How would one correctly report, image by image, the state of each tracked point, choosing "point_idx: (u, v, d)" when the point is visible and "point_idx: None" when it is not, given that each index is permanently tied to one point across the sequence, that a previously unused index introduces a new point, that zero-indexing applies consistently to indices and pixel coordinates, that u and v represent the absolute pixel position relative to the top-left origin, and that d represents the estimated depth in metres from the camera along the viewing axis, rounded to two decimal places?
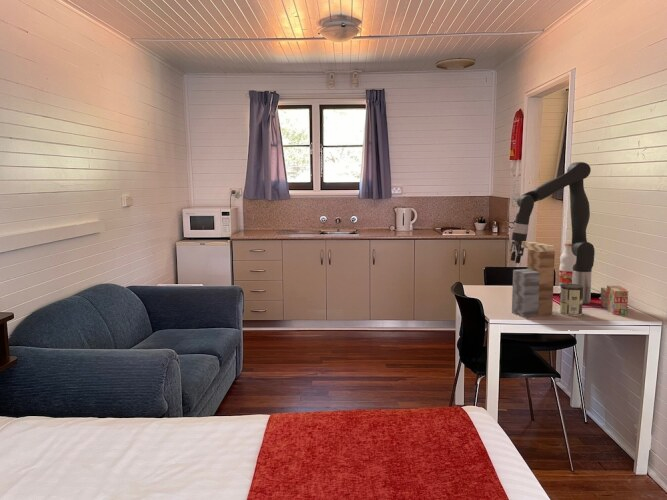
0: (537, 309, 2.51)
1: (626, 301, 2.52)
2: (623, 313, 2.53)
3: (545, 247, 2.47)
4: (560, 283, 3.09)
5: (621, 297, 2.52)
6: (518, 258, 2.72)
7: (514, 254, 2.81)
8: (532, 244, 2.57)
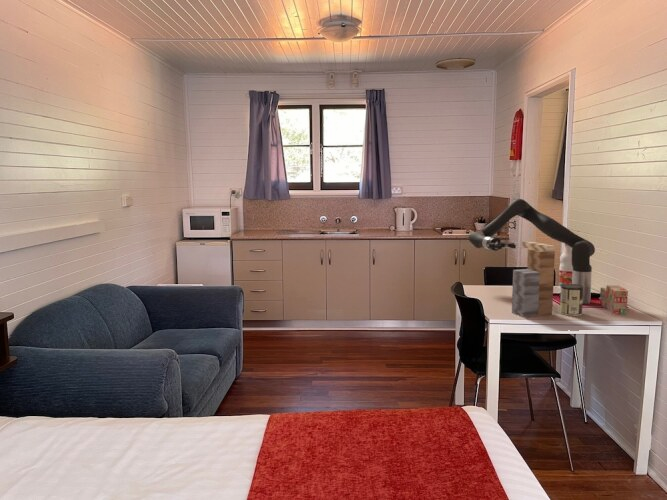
0: (537, 309, 2.51)
1: (626, 301, 2.52)
2: (623, 313, 2.53)
3: (545, 247, 2.47)
4: (560, 283, 3.09)
5: (621, 297, 2.52)
6: (496, 247, 2.82)
7: (510, 245, 2.85)
8: (532, 244, 2.57)
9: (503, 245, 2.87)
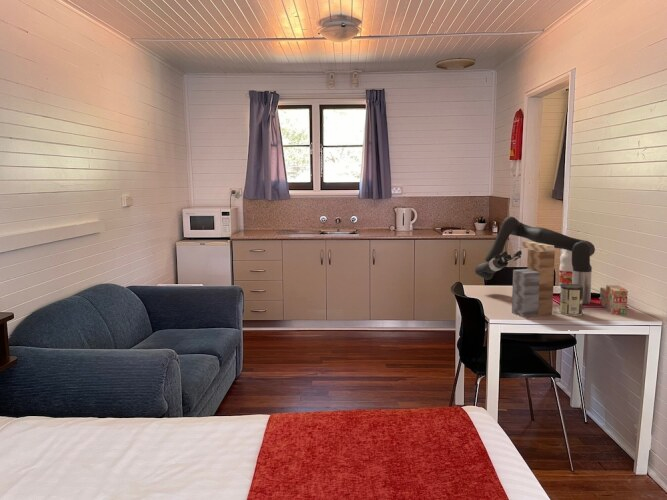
0: (537, 309, 2.51)
1: (625, 301, 2.52)
2: (622, 313, 2.53)
3: (545, 247, 2.47)
4: (560, 283, 3.09)
5: (621, 296, 2.52)
6: (502, 255, 2.77)
7: (516, 253, 2.80)
8: (532, 244, 2.57)
9: (509, 256, 2.82)
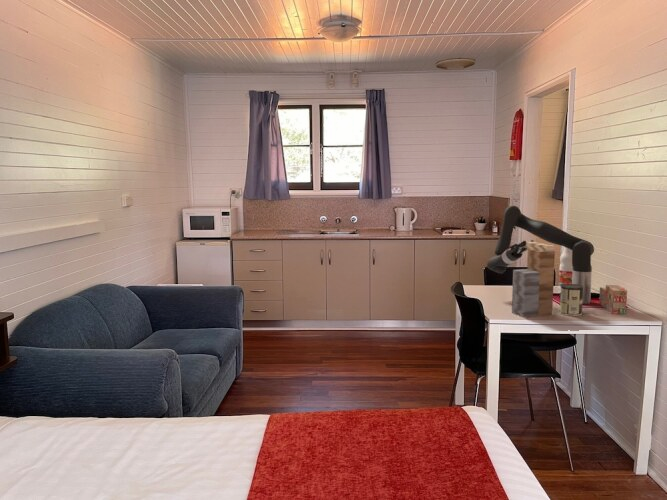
0: (537, 309, 2.51)
1: (625, 300, 2.53)
2: (622, 312, 2.54)
3: (545, 247, 2.47)
4: (560, 283, 3.09)
5: (620, 296, 2.53)
6: (521, 244, 2.64)
7: None
8: (532, 244, 2.57)
9: (521, 247, 2.69)
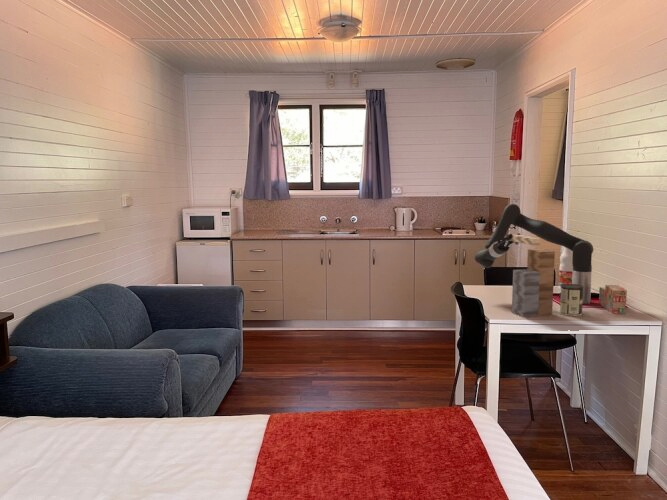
0: (537, 309, 2.51)
1: (625, 300, 2.53)
2: (622, 312, 2.54)
3: (531, 240, 2.45)
4: (560, 283, 3.09)
5: (620, 296, 2.53)
6: (507, 237, 2.61)
7: None
8: (518, 237, 2.54)
9: (508, 241, 2.66)
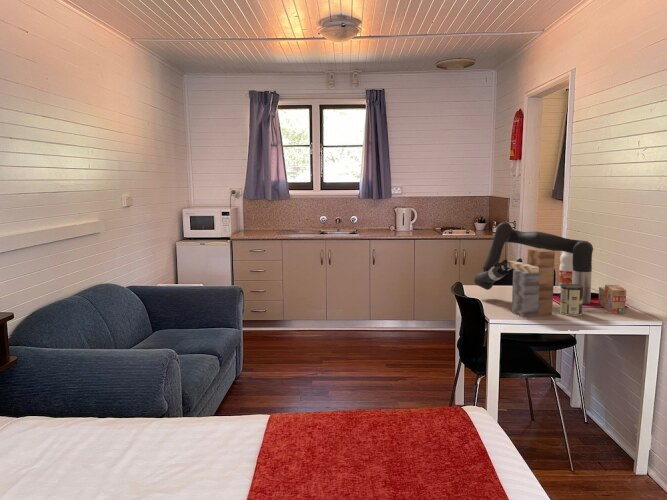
0: (537, 309, 2.51)
1: (624, 300, 2.54)
2: (621, 312, 2.55)
3: (530, 268, 2.47)
4: (560, 283, 3.09)
5: (619, 296, 2.54)
6: (502, 263, 2.63)
7: (517, 261, 2.67)
8: (517, 265, 2.56)
9: None
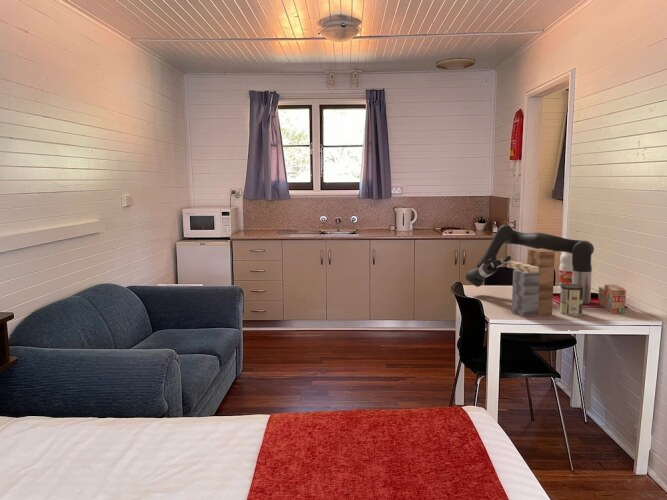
0: (537, 309, 2.51)
1: (624, 300, 2.54)
2: (621, 312, 2.55)
3: (530, 268, 2.47)
4: (560, 283, 3.09)
5: (619, 296, 2.54)
6: (491, 260, 2.73)
7: (506, 259, 2.76)
8: (517, 265, 2.56)
9: (499, 261, 2.78)
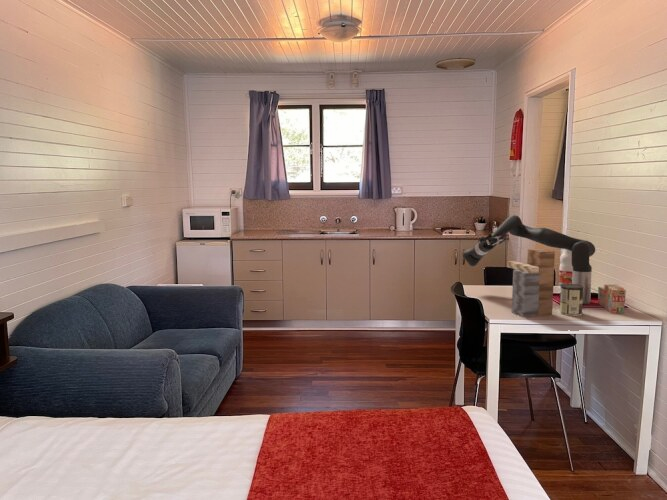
0: (537, 309, 2.51)
1: (623, 300, 2.54)
2: (620, 312, 2.55)
3: (530, 268, 2.47)
4: (560, 283, 3.09)
5: (619, 295, 2.54)
6: (487, 237, 2.80)
7: (501, 236, 2.83)
8: (517, 265, 2.56)
9: (494, 239, 2.84)
